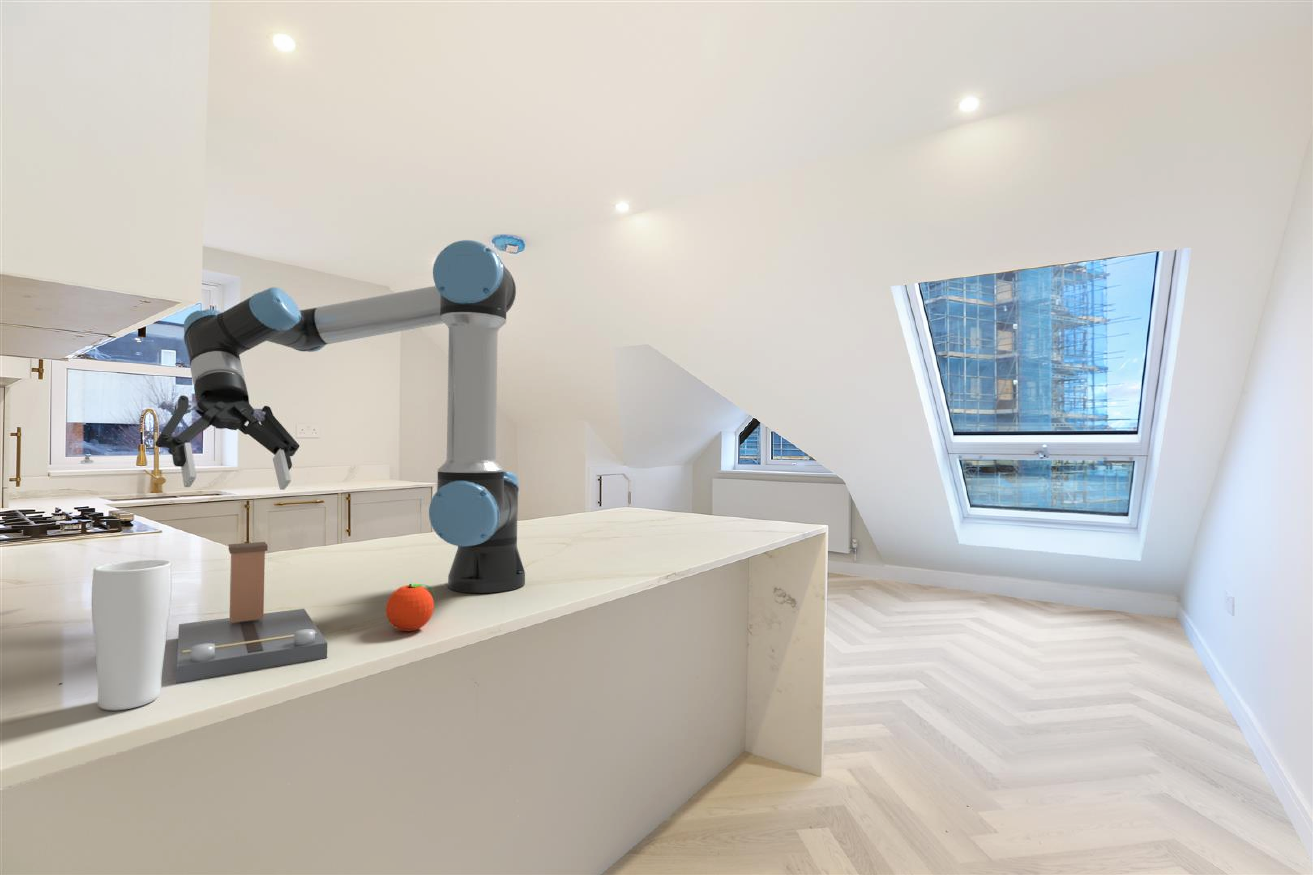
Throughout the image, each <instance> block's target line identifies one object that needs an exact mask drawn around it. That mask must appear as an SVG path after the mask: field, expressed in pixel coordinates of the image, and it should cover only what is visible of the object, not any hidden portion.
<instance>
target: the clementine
mask: <svg viewBox="0 0 1313 875" xmlns="http://www.w3.org/2000/svg"><path fill="white" fill-rule="evenodd" d="M424 586H425V587H427V588H428V589H430V590H431V591H432V593H433V595H434V596H436V594H435V591H434V589H433V588H432V587H431V586H429V585H426V584H423V583H421V584H420V583H413V584H412V583H409V584H406V585H402V586H400V587H399V588H397V589H396V590H395V591H393V593H391V594H390V596H389V598H388V600H387V602H386V607H385V615H386V619H387V621H388V622H389V624H390V625H391V626H392V627H393V628H395V629H396V630H399V631H403V632H413V631H416V630H419V629H421V628H423V627H424V626H425V625H427V623H428V622H429V621H430V620H431V619H432V616H433V614H434V609H435V606H434V605H435V604H434V598H433V596H432V594H431V592H429V590H427V589H426V588H424Z"/></svg>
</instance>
